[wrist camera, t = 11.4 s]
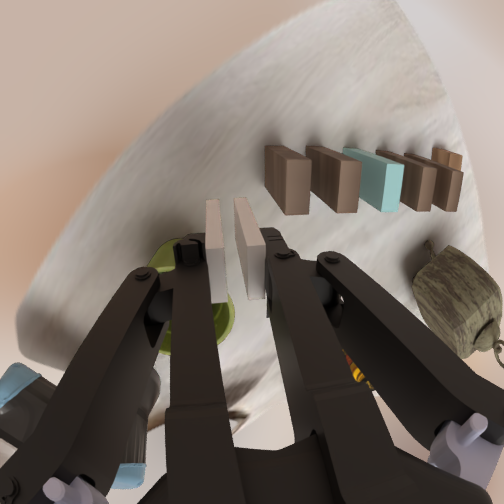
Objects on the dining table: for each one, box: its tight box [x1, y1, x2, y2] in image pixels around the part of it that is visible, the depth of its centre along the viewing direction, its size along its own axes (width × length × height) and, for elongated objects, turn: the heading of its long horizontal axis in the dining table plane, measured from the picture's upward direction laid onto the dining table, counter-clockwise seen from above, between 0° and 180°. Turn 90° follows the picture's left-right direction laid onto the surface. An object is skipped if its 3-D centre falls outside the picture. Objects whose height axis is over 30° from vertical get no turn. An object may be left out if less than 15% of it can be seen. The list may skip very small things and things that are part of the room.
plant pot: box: [147, 239, 235, 355], centre depth 32 cm, size 12×12×11 cm
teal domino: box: [343, 148, 404, 212], centre depth 30 cm, size 2×5×10 cm, turn 0°
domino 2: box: [306, 146, 362, 213], centre depth 29 cm, size 2×5×10 cm, turn 0°
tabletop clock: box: [412, 240, 504, 368], centre depth 34 cm, size 14×9×25 cm, turn 37°
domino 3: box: [376, 150, 437, 212], centre depth 30 cm, size 2×5×10 cm, turn 0°
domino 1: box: [265, 146, 312, 215], centre depth 28 cm, size 2×5×10 cm, turn 0°
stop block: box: [431, 148, 462, 171], centre depth 34 cm, size 3×8×4 cm, turn 0°
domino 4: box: [404, 153, 463, 212], centre depth 31 cm, size 2×5×10 cm, turn 0°
